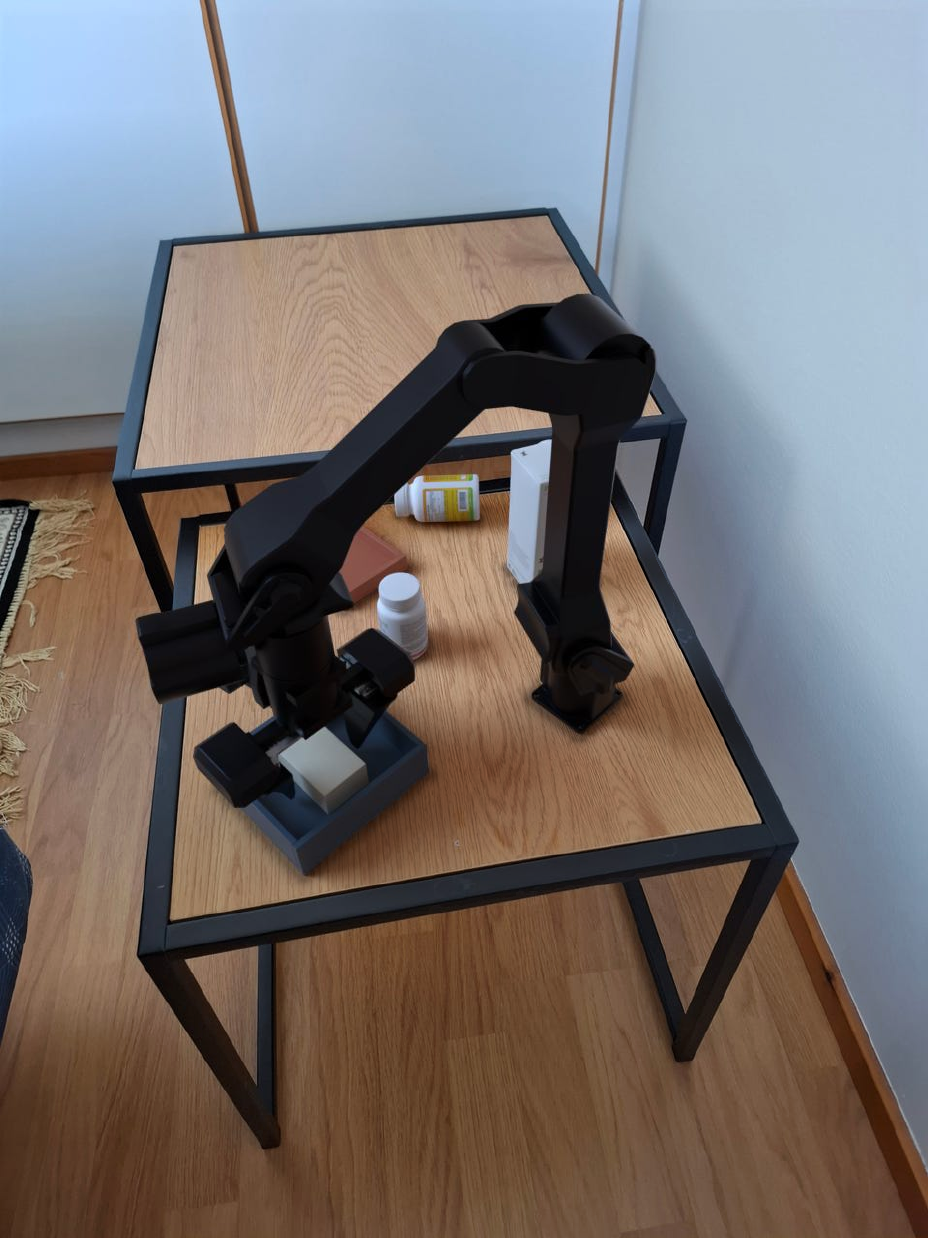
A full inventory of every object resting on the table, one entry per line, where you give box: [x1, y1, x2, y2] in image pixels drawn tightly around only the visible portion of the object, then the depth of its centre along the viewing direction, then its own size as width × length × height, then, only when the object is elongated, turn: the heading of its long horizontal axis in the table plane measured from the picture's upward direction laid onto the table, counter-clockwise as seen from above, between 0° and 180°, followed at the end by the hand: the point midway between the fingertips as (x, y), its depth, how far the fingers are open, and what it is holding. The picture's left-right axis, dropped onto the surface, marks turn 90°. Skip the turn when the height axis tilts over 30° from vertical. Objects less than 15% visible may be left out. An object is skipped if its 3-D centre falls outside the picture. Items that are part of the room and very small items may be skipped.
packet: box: [278, 727, 369, 815], centre depth 77 cm, size 7×5×3 cm, turn 45°
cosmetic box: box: [506, 438, 552, 584], centre depth 91 cm, size 8×7×16 cm
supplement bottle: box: [394, 473, 481, 523], centre depth 102 cm, size 5×5×10 cm
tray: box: [339, 525, 408, 604], centre depth 97 cm, size 11×9×2 cm
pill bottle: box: [376, 572, 429, 661], centre depth 87 cm, size 5×5×8 cm
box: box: [240, 710, 430, 876], centre depth 77 cm, size 12×14×4 cm
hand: (323, 769), depth 77 cm, fingers open, 7 cm apart
